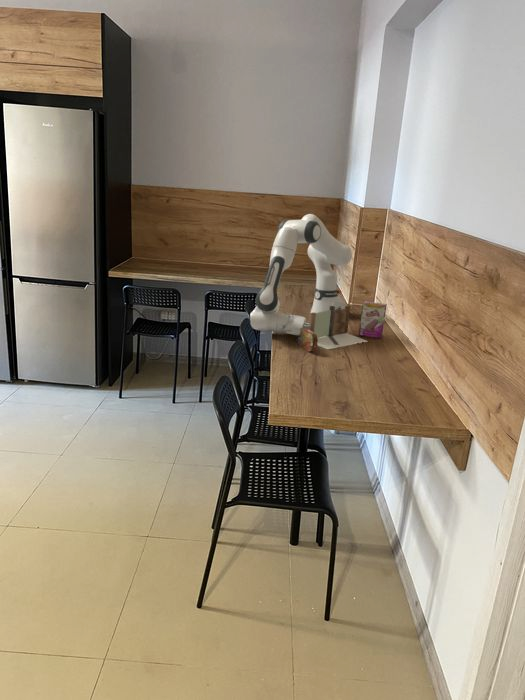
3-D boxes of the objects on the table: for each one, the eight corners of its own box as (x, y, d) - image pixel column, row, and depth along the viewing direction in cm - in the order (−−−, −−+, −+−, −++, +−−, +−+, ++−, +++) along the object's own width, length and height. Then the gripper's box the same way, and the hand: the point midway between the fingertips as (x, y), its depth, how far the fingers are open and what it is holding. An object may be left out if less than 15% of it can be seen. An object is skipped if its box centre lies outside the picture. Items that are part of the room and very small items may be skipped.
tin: (296, 343, 239) (298, 325, 236) (302, 343, 240) (304, 325, 237) (311, 354, 225) (312, 335, 223) (317, 354, 227) (319, 335, 224)
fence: (344, 331, 261) (347, 303, 256) (348, 332, 259) (351, 304, 254) (325, 334, 253) (328, 306, 249) (329, 336, 251) (332, 307, 247)
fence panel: (325, 334, 252) (328, 308, 248) (329, 335, 251) (331, 309, 247) (308, 339, 242) (310, 312, 238) (311, 340, 241) (314, 313, 237)
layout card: (337, 330, 263) (337, 329, 263) (367, 341, 248) (367, 340, 248) (297, 337, 248) (297, 336, 248) (327, 349, 233) (327, 348, 233)
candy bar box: (358, 335, 256) (362, 302, 251) (359, 333, 261) (363, 300, 256) (381, 339, 254) (386, 305, 249) (382, 336, 258) (387, 303, 253)
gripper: (281, 323, 235) (312, 326, 233) (287, 312, 255) (316, 315, 253) (280, 336, 237) (311, 340, 235) (286, 324, 257) (314, 328, 255)
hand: (313, 327), depth 244 cm, fingers closed
